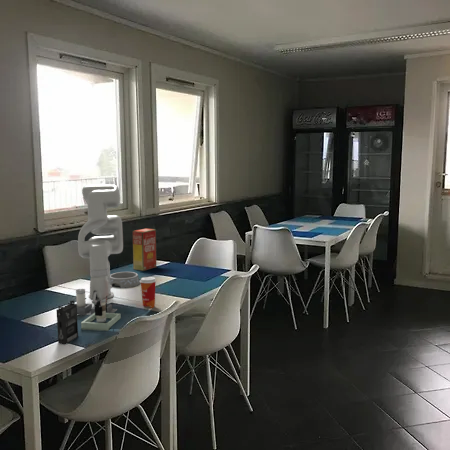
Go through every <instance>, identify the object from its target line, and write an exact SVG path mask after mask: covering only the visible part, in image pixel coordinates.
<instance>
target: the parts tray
mask: <svg viewBox="0 0 450 450" xmlns="http://www.w3.org/2000/svg"><path fill="white" fill-rule="evenodd" d="M121 314H122V313H115V312H114V313H106V319H110V320H109V321H107V322H94V320H95V319H96V316H95V313H94V314H92V315H88V317H87V318H85V319H84V320H83V321H81V323H80V326H81V327H80V328H81V331H82V330H85V331H101V332H103V331H104V332H109V331H110V330H111V329H112V326H113V325H115V323H117V322H118V321H119V320H120V319H122V317H121Z"/></svg>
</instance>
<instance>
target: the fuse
mask: <svg viewBox="0 0 450 450" xmlns="http://www.w3.org/2000/svg"><path fill="white" fill-rule="evenodd" d="M75 296H76V304H77V307H83V308H84V307H86V301H87V300H86V289H85V288H78V289H75Z"/></svg>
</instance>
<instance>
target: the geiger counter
mask: <svg viewBox="0 0 450 450" xmlns="http://www.w3.org/2000/svg"><path fill="white" fill-rule="evenodd" d="M69 302H70V303H68V304H66V305H64V306H59V305H58V307H57V308H58V309H56V324H57V342H58V343H57V344H58V345H64V346H65V345H68V344H69V343H72V342H73V341H74V340H76V339H78V338H79V326H78V323H79V322H78V314H77V303H75V300H70V301H69Z"/></svg>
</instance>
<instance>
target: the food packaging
mask: <svg viewBox="0 0 450 450" xmlns="http://www.w3.org/2000/svg"><path fill="white" fill-rule="evenodd" d="M132 259H133V260H132V263H133V264H132V265H133V268H132V270H134V271H135V270H137V271H141V272H145V271H148V270H151V269H155V268H157V230H156V228H155V229H154V228H146V227H145V228H142V229H136V230H132Z"/></svg>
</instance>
